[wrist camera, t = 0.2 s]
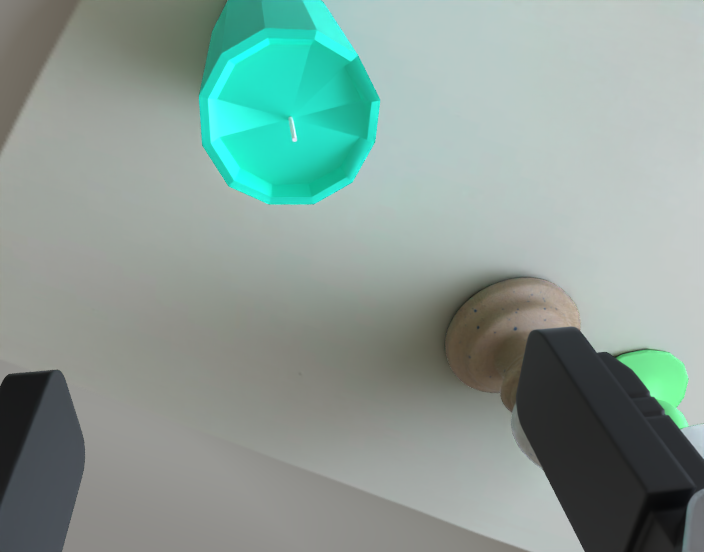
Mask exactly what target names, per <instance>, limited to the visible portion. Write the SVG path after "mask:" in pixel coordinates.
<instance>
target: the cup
mask: <svg viewBox="0 0 704 552" xmlns="http://www.w3.org/2000/svg"><path fill="white" fill-rule="evenodd" d="M616 359H618V360H619V361H621V362H622V363H623V364H625V365H626V366H628V367H629V368H631V369H632V370H633V371H634V372H635V373H636V375H637V376H638V377H639V378H640V380H641V381H642V382H643V383H644V385H645V386H646V387H647V389H648V390H649V391H650V395H651V397H653V396H654V397H655V399H656V400H657V401H658V402H659V404H660V405H661V406H662V407H663V409H664V410H665V415H669V416H670V417H671V419H672V420H673V421H674V422H675V424H676V425H677V426H678V427H679V429H680V430H681V431H682V432H683V434H684V435H685V436H686V437H687V439H688V440H689V441H690V442H691V444H692V445H693V446H694V447H695V449H696V450H697V451H698V453H699V454H700V455H701V456H702V458H703V459H704V423H703V424H698V425H693V426H688V423H687V421H686V419H685V417H684V415H683V413H681V412H680V411H679V410H677V409H676V408H677V406H678V405H679V404H680V402H681V401H682V399H683V398H684V395H685V391H686V387H687V383H688V376H687V373H686V370H685V367H684V364H683V363H682V362H681V361H680V360H678V359H677V358H676V357H674V356H673V355H672V354H670V353H669V352H663V351H656V350H650V349H647V350H641V351H636V352H631V353H626V354H622V355H620V356H618V357H616Z"/></svg>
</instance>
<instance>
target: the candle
mask: <svg viewBox="0 0 704 552" xmlns="http://www.w3.org/2000/svg"><path fill="white" fill-rule="evenodd" d="M199 106H200V121H201V135H202V146H203V147H204V149H205V150H206V152H207V153H208V155H209V157H210V158H211V160H212V161H213V163H214V164H215V166H216V168H217V169H218V171H219V172H220V174H221V175H222V177H223V178H224V180H225V182H226V183H227V185H228V186H229V187H231V188H233V189H236V190H238V191H240V192H242V193H245V194H247V195H249V196H251V197H254V198H256V199H258V200H260V201H263V202H265V203H267V204H315V203H317V202H319V201H321V200H322V199H324V198H326V197H328V196H329V195H331V194H333V193H335V192H337V191H338V190H340V189H342V188H344V187H345V186H347V185H349V184H351V183H352V182H353V180H354V179H355V177H356V175H357V173H358V172H359V170H360V168H361V166H362V164H363V163H364V161H365V159H366V157H367V156H368V154H369V152H370V150H371V149H372V147H373V145H374V143H375V139H376V131H377V123H378V115H379V107H380V98H379V96H378V94H377V92H376V90H375V88H374V86H373V84H372V82H371V80H370V78H369V76H368V74H367V72H366V70H365V68H364V66H363V64H362V62H361V60H360V58H359V56H358V54H357V53H356V51H355V50H354V48H353V47H352V45H351V44H350V42H349V41H348V39H347V38H346V36H345V34H344V33H343V31H342V30H341V28H340V27H339V25H338V24H337V22H336V21H335V19H334V18H333V16H332V15H331V13H330V12H329V10H328V9H327V7H326V6H325V4H324V2H322V1H321V0H228V1H227V3H226V5H225V7H224V9H223V11H222V13H221V15H220V17H219V19H218V21H217V23H216V25H215V27H214V29H213V31H212V35H211V40H210V45H209V50H208V54H207V59H206V64H205V69H204V74H203V78H202V83H201V88H200V93H199Z"/></svg>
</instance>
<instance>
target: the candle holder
mask: <svg viewBox="0 0 704 552" xmlns="http://www.w3.org/2000/svg"><path fill="white" fill-rule="evenodd" d="M570 326H573V327H576V328H578V329H579V330H580V328H581V321H580V315H579V312H578V309H577V307H576V305H575V303H574V302H573V300H572V299H571V297H570V296H569V295H568V294H567V293H566V292H565V291H564V290H563V289H562V288H560V287H558V286H557V285H555V284H554V283H551V282H549V281H546V280H542V279H538V278H527V277H524V278H513V279H509V280H504V281H501V282H498V283H495V284H493V285H491V286H489V287H487V288H485V289H483V290H481V291H480V292H478V293H477V294H475V295H474V296H472V297H471V298H470V299H469V300H468V301H467V302H465V303H464V305H463V306H462V307H461V308H460V309H459V310H458V312H457V313H456V314H455V316H454V317H453V319H452V321H451V323H450V325H449V328H448V331H447V334H446V340H445V350H446V356H447V359H448V362H449V365H450V367H451V369H452V370H453V372H454V374H455V375H456V376H457V377H458V378H459V379H460V381H462V382H463V383H464V384H466V385H467V386H469V387H471V388H473V389H476V390H479V391H483V392H489V393H500V395H501V399H502V402H503V404H504V405H505V407H506V408H507V409H508V410H509V411H511V412H512V416H511V427H512V433H513V436H514V438H515V441H516V443H517V445H518V446H519V448H520V449H521V450H522V452H523V453H524V454H525V455H526V456H527V457H528V458H529V459H530V460H531V461H532V462H533V463H534V464H536V465H537V466H538V467H540V468H541V469H542V470H543V468H542V466H541V465H540V463H539V461H538V459H537V457H536V455H535V453H534V451H533V449H532V447H531V445H530V443H529V441H528V439H527V437H526V435H525V433H524V431H523V429H522V427H521V424H520V422H519V418H518V414H517V408H516V393H517V387H518V382H519V377H520V372H521V367H522V362H523V357H524V352H525V347H526V342H527V338H528V335H529V333H530V332H531V331H532V330H536V329H547V328H559V327H570Z"/></svg>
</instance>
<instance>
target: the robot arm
mask: <svg viewBox="0 0 704 552" xmlns="http://www.w3.org/2000/svg"><path fill="white" fill-rule="evenodd" d="M516 408H517V414H518V418H519V422H520V424H521V427H522V429H523V431H524V433H525V435H526V437H527V439H528V441H529V443H530V445H531V447H532V449H533V451H534V453H535V455H536V457H537V459H538V461H539V463H540V465H541V466H542V468H543V470H544V472H545V474H546V476H547V478H548V480H549V482H550V484H551V486H552V488H553V490H554V492H555V494H556V496H557V498H558V500H559V502H560V504H561V506H562V508H563V510H564V512H565V514H566V516H567V517H568V519H569V521H570V523H571V525H572V527H573V529H574V531H575V533H576V535H577V537H578V539H579V541H580V543H581V545H582V547H583V549H584V551H585V552H704V459H703V458H702V456H701V455H700V454H699V453H698V451H697V450H696V449H695V447H694V446H693V445H692V444H691V442H690V441H689V440H688V439H687V437H686V436H685V435H684V434H683V432H682V431H681V430H680V429H679V427H678V426H677V425H676V424H675V422H674V421H673V420H672V419H671V417H670V416H669V415H665V410H664V409H663V407H662V406H661V405H660V404H659V402H658V401H657V400H656V399H655V397H654V396H653V397H651V395H650V391H649V390H648V389H647V387H646V386H645V385H644V383H643V382H642V381H641V380H640V378H639V377H638V376H637V375H636V373H635V372H634V371H633V370H632V369H631V368H629V367H628V366H626V365H625V364H623V363H622V362H621V361H619V360H618V359H616V358H615V357H613V356H612V355H610V354H609V353H607V352H600V353H596V351H595V350H594V349H593V347H592V346H591V345H590V343H589V342H588V341H587V339H586V338H585V337H584V335H583V334H582V333H581V331H580V330H579V329H578V328H576V327H573V326H570V327H559V328H547V329H536V330H532V331H531V332H530V333H529V335H528V338H527V342H526V347H525V352H524V357H523V362H522V367H521V372H520V377H519V382H518V387H517V393H516ZM84 463H85V446H84V438H83V435H82V431H81V428H80V424H79V421H78V418H77V415H76V412H75V409H74V406H73V402H72V399H71V396H70V393H69V390H68V387H67V383H66V380H65V378H64V375H63V374H62V372H61V371H59V370H48V371H37V372H26V373H14V374H9V375H7V376H6V377H5V378H4V380H3V382H2V384H1V386H0V552H62V549H63V545H64V541H65V538H66V534H67V531H68V527H69V523H70V520H71V516H72V512H73V509H74V505H75V501H76V497H77V494H78V490H79V486H80V483H81V479H82V475H83V471H84Z"/></svg>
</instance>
